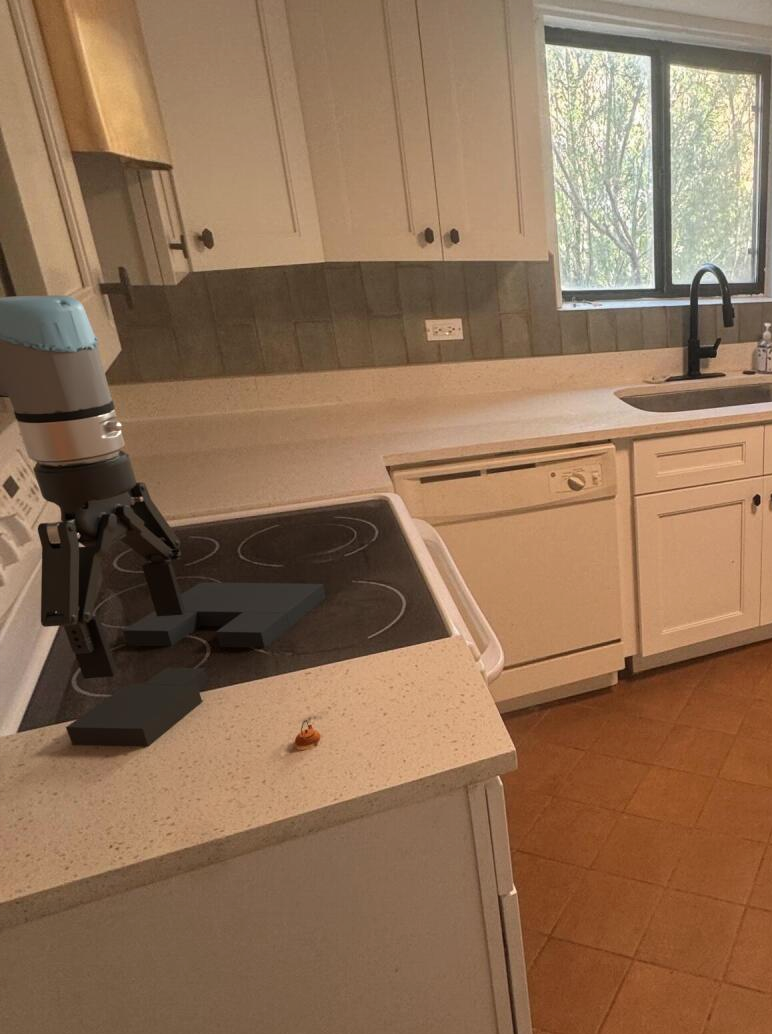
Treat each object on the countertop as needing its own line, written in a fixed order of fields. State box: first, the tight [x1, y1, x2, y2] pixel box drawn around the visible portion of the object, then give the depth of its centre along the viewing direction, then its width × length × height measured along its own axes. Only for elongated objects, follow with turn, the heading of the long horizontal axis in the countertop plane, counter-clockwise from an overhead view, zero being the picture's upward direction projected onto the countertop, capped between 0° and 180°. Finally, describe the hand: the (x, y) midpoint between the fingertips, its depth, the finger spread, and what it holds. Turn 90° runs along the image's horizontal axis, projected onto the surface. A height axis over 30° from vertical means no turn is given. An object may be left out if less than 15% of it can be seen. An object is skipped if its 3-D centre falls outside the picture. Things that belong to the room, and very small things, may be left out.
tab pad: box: [65, 667, 209, 748], centre depth 96 cm, size 9×13×4 cm
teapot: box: [294, 719, 321, 751], centre depth 92 cm, size 3×3×3 cm
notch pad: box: [122, 581, 327, 649], centre depth 118 cm, size 20×16×4 cm
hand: (138, 643), depth 86 cm, fingers open, 13 cm apart
